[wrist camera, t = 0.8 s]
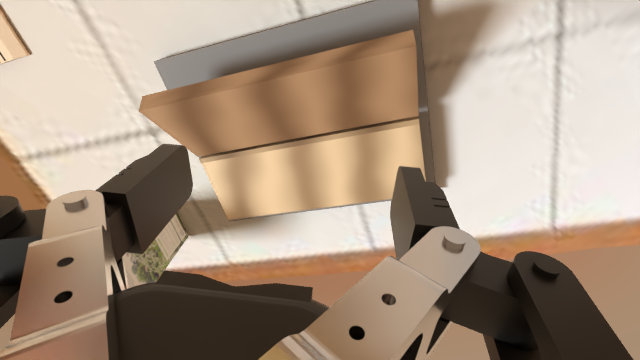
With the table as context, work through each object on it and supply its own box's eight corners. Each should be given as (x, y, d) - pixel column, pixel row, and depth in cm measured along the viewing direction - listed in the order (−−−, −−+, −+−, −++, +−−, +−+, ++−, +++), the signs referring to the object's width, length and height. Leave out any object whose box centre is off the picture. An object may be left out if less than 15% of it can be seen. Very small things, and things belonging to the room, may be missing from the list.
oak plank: (416, 112, 30) (418, 118, 29) (425, 186, 34) (427, 194, 33) (205, 152, 35) (198, 158, 34) (233, 212, 39) (228, 220, 38)
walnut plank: (412, 29, 22) (416, 45, 22) (415, 101, 29) (418, 115, 29) (142, 96, 28) (138, 111, 27) (199, 144, 35) (197, 156, 34)
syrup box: (133, 205, 42) (35, 296, 30) (173, 200, 41) (88, 294, 29) (153, 239, 45) (71, 335, 33) (191, 236, 44) (120, 335, 32)
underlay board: (414, -11, 26) (416, -11, 25) (434, 188, 35) (436, 194, 34) (160, 59, 32) (153, 61, 31) (232, 215, 41) (229, 221, 40)
